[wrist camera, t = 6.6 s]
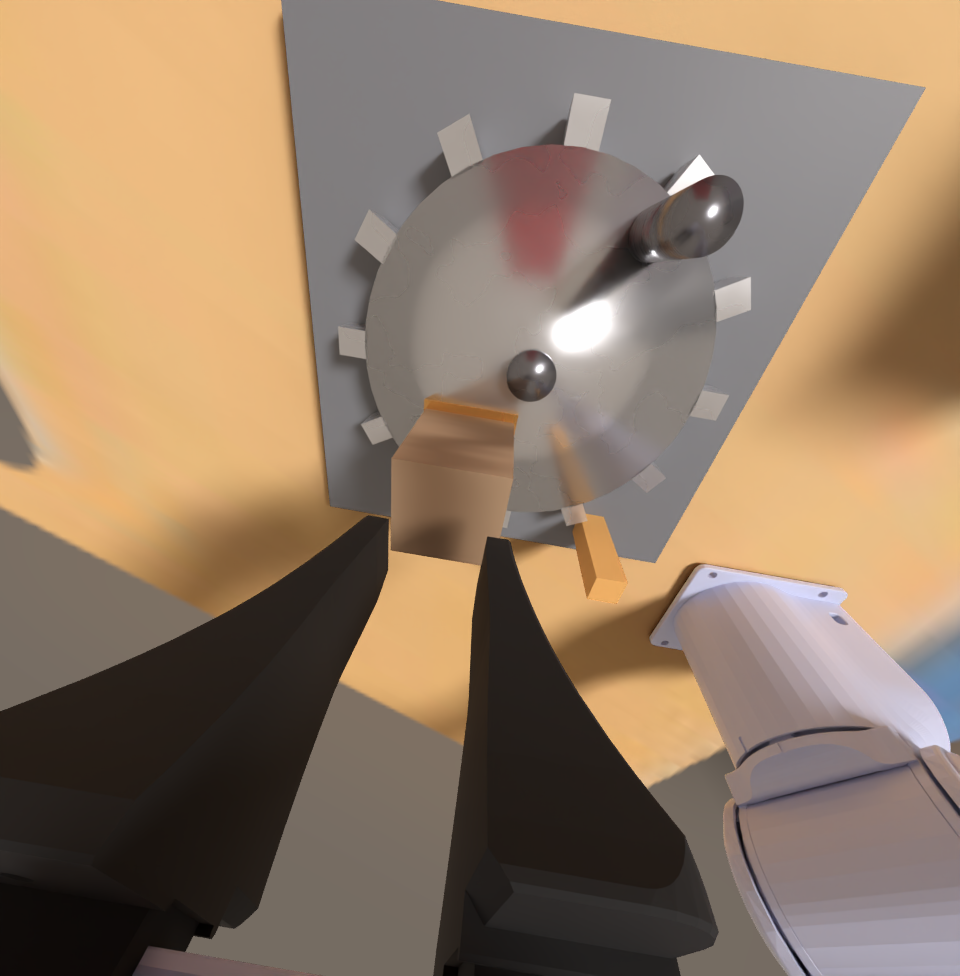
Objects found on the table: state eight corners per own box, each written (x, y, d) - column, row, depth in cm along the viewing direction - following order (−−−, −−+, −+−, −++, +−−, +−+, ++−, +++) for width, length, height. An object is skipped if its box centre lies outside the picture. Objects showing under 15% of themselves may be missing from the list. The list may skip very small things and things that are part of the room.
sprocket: (827, 158, 11) (1030, 81, 7) (637, 535, 20) (672, 611, 15) (341, 71, 11) (226, -62, 7) (358, 487, 20) (312, 548, 15)
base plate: (895, 101, 11) (1200, -39, 6) (649, 551, 22) (690, 635, 17) (296, -6, 11) (118, -233, 6) (337, 497, 22) (282, 564, 17)
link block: (514, 423, 16) (513, 478, 11) (498, 497, 18) (493, 567, 13) (425, 408, 16) (391, 458, 11) (421, 484, 18) (390, 550, 13)
